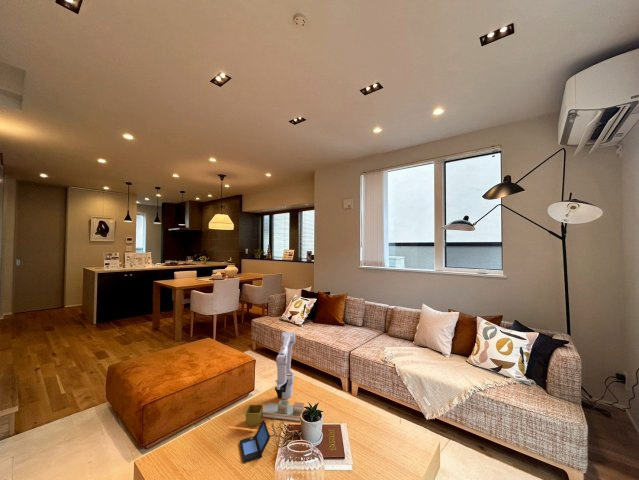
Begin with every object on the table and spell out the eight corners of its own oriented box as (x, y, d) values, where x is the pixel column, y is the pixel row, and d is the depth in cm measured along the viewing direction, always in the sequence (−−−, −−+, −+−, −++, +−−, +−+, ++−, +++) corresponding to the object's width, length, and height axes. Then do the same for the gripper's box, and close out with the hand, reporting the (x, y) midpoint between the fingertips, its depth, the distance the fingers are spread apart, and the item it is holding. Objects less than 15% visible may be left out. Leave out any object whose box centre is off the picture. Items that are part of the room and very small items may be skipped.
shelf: (267, 404, 178) (267, 399, 178) (311, 408, 172) (310, 404, 172) (258, 418, 163) (258, 413, 163) (305, 423, 157) (305, 418, 158)
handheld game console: (239, 442, 142) (239, 425, 143) (263, 435, 148) (264, 418, 148) (243, 464, 128) (243, 444, 129) (270, 455, 134) (270, 436, 134)
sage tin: (280, 409, 170) (280, 400, 170) (289, 410, 169) (289, 400, 169) (277, 413, 166) (277, 403, 166) (286, 414, 165) (286, 404, 165)
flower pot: (259, 429, 153) (259, 413, 153) (244, 429, 153) (244, 413, 153) (263, 419, 162) (263, 404, 162) (249, 419, 162) (249, 404, 162)
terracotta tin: (294, 411, 168) (294, 402, 168) (304, 412, 167) (304, 403, 167) (293, 415, 164) (293, 405, 164) (302, 416, 162) (302, 406, 163)
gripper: (279, 368, 179) (279, 388, 178) (271, 378, 165) (271, 400, 164) (289, 369, 178) (289, 389, 177) (282, 379, 163) (282, 402, 163)
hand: (281, 395), depth 170 cm, fingers open, 7 cm apart
